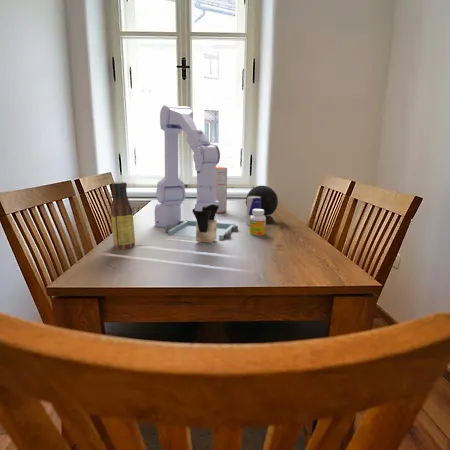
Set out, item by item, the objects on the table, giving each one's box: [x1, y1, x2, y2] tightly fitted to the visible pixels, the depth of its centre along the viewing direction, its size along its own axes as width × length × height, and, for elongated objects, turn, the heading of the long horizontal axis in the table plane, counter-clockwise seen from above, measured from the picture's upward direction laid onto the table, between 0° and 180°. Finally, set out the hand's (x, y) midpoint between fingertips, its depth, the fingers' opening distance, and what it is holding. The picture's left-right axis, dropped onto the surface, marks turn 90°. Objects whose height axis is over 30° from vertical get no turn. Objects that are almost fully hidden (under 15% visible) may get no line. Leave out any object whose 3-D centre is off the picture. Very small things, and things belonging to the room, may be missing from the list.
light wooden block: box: [195, 219, 218, 243], centre depth 106 cm, size 5×5×6 cm
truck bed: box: [165, 219, 239, 241], centre depth 118 cm, size 22×18×3 cm
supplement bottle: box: [249, 209, 267, 237], centre depth 117 cm, size 5×5×10 cm
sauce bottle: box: [110, 181, 136, 250], centre depth 101 cm, size 7×6×20 cm
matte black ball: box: [245, 185, 279, 225], centre depth 141 cm, size 13×13×15 cm
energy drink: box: [245, 196, 261, 227], centre depth 130 cm, size 5×5×12 cm
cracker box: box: [214, 165, 228, 214], centre depth 161 cm, size 14×6×21 cm, turn 25°
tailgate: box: [164, 238, 215, 245], centre depth 108 cm, size 16×2×5 cm
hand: (206, 229), depth 106 cm, fingers closed on light wooden block, 5 cm apart
